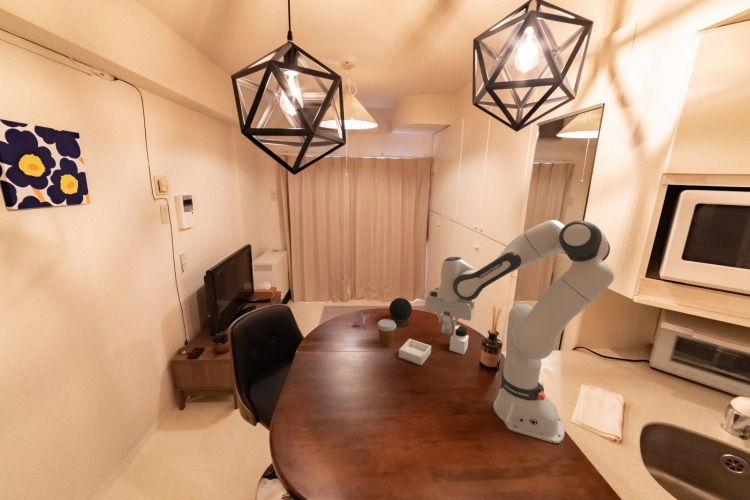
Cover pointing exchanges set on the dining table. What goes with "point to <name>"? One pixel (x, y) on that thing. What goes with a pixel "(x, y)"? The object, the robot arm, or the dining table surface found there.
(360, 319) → the lily
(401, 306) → the black ball on stand
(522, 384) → the robot arm
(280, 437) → the dining table surface
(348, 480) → the dining table surface
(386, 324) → the disposable coffee cup
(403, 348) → the white square tray
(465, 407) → the dining table surface
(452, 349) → the medicine bottle
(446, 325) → the salt shaker
